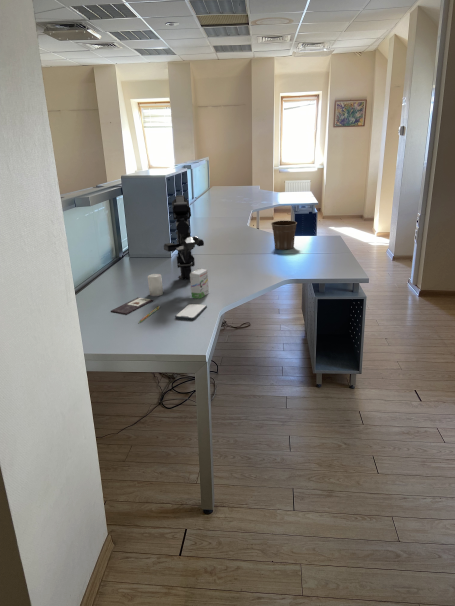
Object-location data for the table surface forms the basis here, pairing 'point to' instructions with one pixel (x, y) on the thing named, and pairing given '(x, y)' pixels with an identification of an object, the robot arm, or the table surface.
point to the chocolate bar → (131, 306)
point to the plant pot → (284, 234)
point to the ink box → (199, 283)
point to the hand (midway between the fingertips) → (185, 262)
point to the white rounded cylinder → (155, 284)
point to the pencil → (149, 314)
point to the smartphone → (191, 312)
